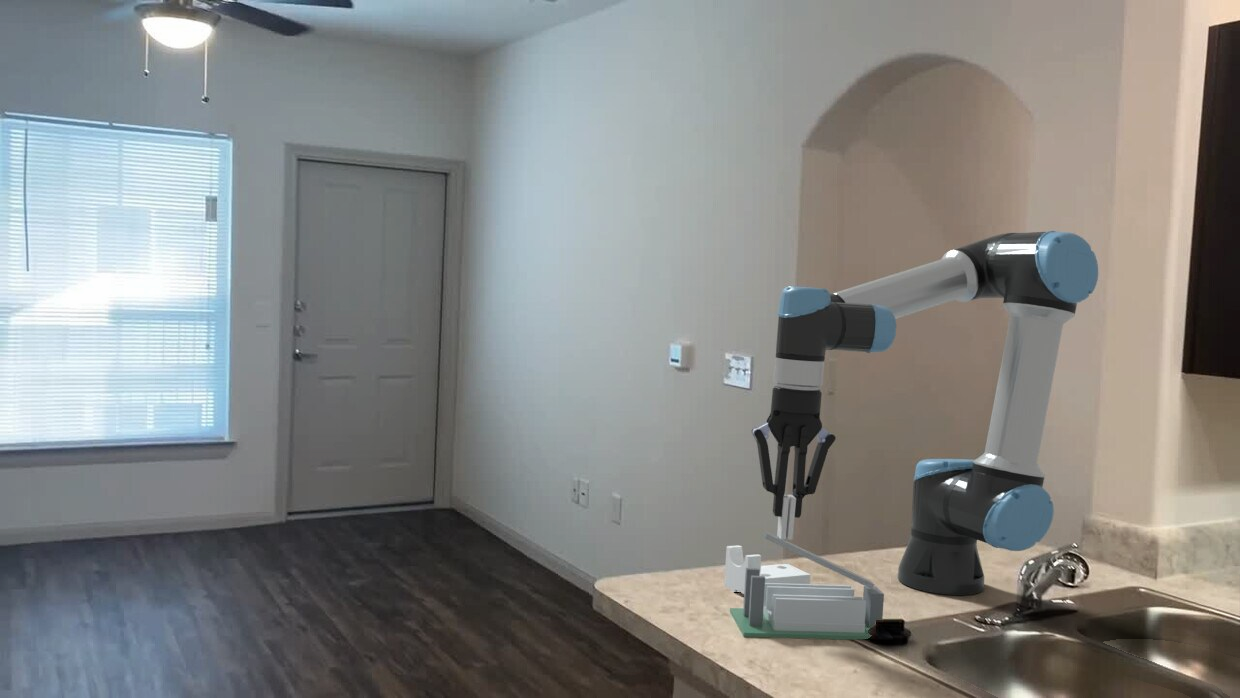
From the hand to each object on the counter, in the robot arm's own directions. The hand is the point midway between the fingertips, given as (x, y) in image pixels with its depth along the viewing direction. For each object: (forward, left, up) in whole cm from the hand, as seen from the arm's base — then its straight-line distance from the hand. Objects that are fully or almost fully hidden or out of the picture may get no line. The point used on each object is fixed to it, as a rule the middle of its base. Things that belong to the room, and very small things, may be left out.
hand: (784, 537), depth 167 cm
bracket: (-2, -19, -15) cm, 24 cm away
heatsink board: (-5, 0, -14) cm, 15 cm away
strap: (-5, 0, -4) cm, 7 cm away
